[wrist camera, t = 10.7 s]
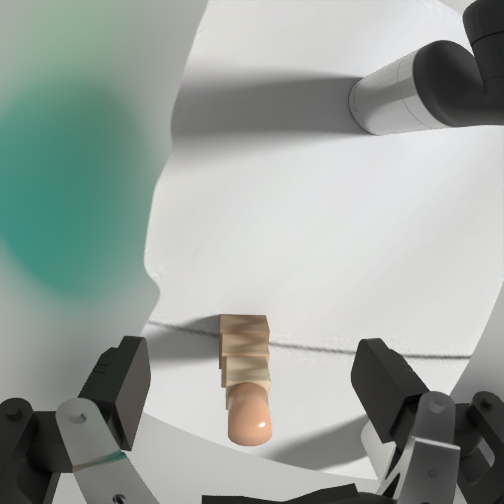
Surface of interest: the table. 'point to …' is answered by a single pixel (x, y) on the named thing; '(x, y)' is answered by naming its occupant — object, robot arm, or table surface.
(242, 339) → the tower mid
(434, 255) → the table surface
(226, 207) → the table surface
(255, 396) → the cylinder
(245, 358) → the tower top
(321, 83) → the table surface
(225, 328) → the tower base
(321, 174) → the table surface
